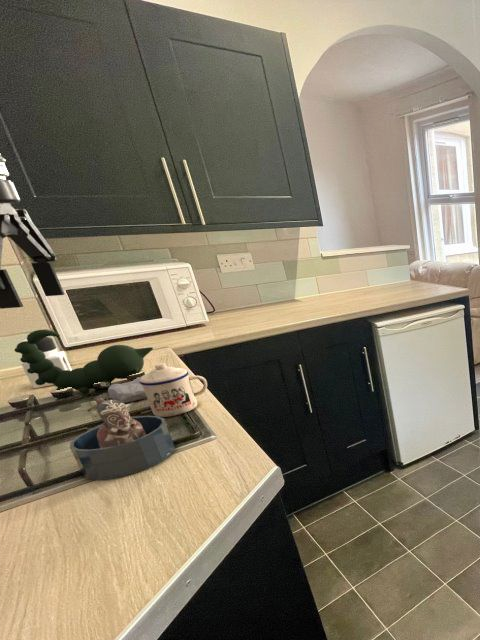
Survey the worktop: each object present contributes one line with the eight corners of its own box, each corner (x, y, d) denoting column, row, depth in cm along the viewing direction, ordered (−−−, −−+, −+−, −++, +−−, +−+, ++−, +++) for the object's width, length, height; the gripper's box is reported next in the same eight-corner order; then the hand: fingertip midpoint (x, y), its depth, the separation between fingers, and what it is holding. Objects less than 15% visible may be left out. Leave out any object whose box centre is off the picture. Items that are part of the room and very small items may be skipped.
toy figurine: (46, 409, 107) (165, 378, 120) (1, 340, 99) (133, 314, 112) (55, 398, 114) (166, 369, 127) (13, 332, 106) (136, 309, 119)
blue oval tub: (67, 487, 72) (52, 457, 70) (104, 450, 84) (92, 423, 82) (161, 469, 77) (150, 441, 75) (183, 436, 89) (174, 410, 86)
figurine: (114, 471, 76) (87, 412, 71) (99, 461, 79) (72, 403, 75) (160, 453, 81) (138, 397, 77) (145, 444, 85) (122, 390, 80)
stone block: (180, 395, 114) (161, 382, 118) (175, 380, 112) (156, 367, 116) (127, 413, 105) (108, 399, 109) (120, 397, 102) (102, 383, 106)
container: (74, 375, 127) (55, 333, 122) (71, 381, 121) (51, 338, 116) (38, 381, 122) (17, 338, 117) (33, 389, 116) (10, 344, 112)
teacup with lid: (152, 421, 95) (133, 374, 91) (152, 409, 102) (134, 364, 98) (214, 406, 102) (200, 361, 98) (210, 395, 109) (197, 353, 104)
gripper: (-48, 171, 63) (19, 311, 71) (49, 183, 84) (92, 289, 92) (-120, 170, 60) (-42, 316, 68) (-1, 183, 82) (47, 292, 90)
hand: (35, 301), depth 80 cm, fingers open, 13 cm apart
